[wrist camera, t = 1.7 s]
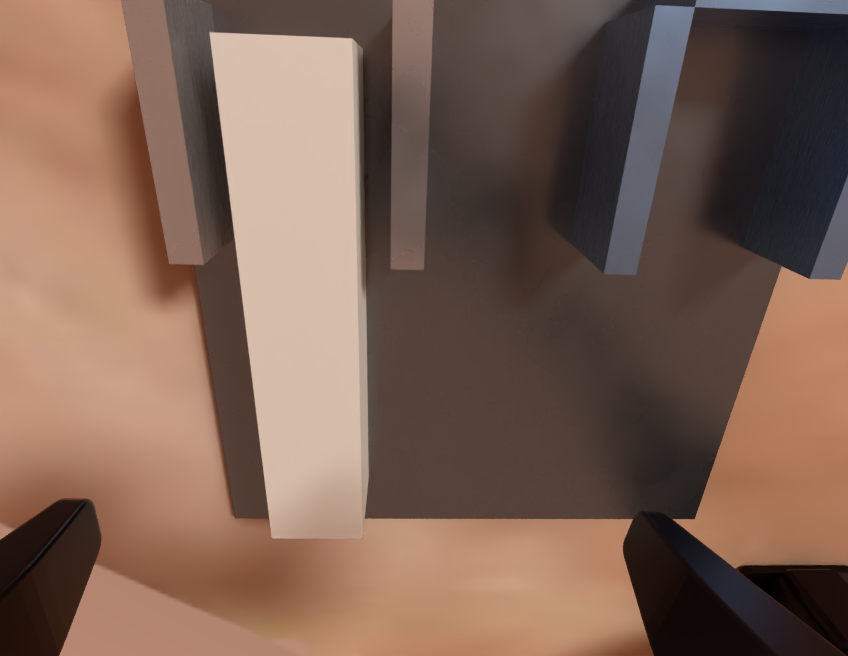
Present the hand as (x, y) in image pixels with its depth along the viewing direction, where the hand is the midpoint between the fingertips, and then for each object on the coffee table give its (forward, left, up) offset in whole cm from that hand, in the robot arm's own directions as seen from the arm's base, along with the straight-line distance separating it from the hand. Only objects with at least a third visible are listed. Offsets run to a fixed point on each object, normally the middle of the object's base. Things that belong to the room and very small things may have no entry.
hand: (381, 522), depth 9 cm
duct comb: (-1, -4, -12) cm, 13 cm away
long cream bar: (-1, +3, -12) cm, 12 cm away
